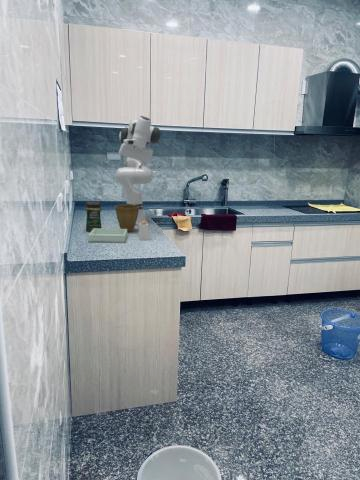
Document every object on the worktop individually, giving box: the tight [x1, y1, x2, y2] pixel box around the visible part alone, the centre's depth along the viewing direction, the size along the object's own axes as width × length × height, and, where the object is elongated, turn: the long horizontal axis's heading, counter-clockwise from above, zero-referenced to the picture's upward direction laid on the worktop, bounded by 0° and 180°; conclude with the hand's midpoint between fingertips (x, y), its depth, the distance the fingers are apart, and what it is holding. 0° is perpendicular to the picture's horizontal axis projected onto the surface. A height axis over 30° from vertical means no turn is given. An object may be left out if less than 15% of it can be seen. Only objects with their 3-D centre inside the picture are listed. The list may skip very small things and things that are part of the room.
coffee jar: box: [85, 201, 102, 232], centre depth 224 cm, size 10×8×19 cm
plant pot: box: [114, 204, 139, 233], centre depth 226 cm, size 15×15×16 cm
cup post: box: [138, 222, 149, 241], centre depth 208 cm, size 5×5×9 cm
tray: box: [87, 228, 128, 244], centre depth 206 cm, size 18×20×4 cm
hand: (132, 166), depth 217 cm, fingers open, 8 cm apart
